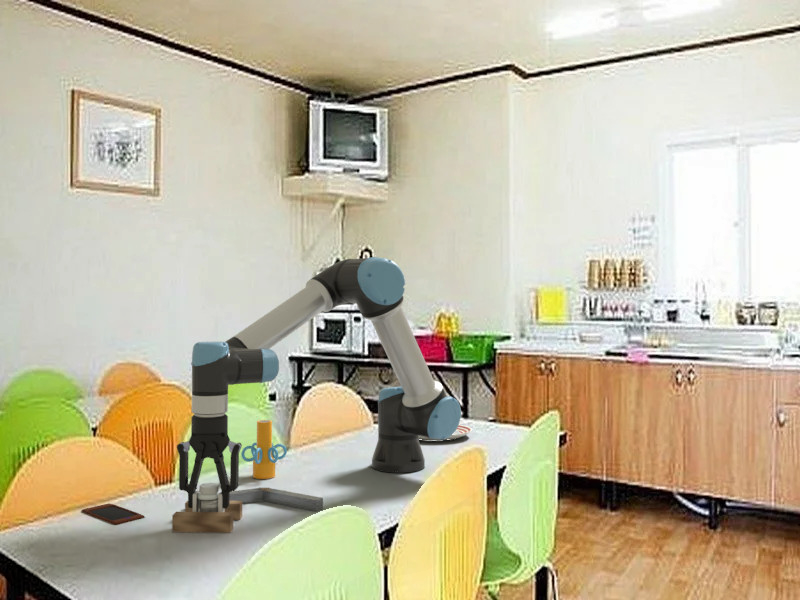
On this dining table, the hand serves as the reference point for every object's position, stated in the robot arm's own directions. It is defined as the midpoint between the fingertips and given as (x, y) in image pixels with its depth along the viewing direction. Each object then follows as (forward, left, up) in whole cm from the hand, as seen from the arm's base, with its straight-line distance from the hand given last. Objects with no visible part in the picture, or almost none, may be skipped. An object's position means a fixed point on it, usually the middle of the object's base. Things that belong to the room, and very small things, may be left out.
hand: (208, 522), depth 157 cm
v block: (-8, -15, 0) cm, 17 cm away
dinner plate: (-51, -100, -1) cm, 113 cm away
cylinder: (-4, -41, -1) cm, 41 cm away
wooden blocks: (0, 0, 0) cm, 0 cm away
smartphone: (+23, -6, -1) cm, 24 cm away
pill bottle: (0, 0, -1) cm, 1 cm away
